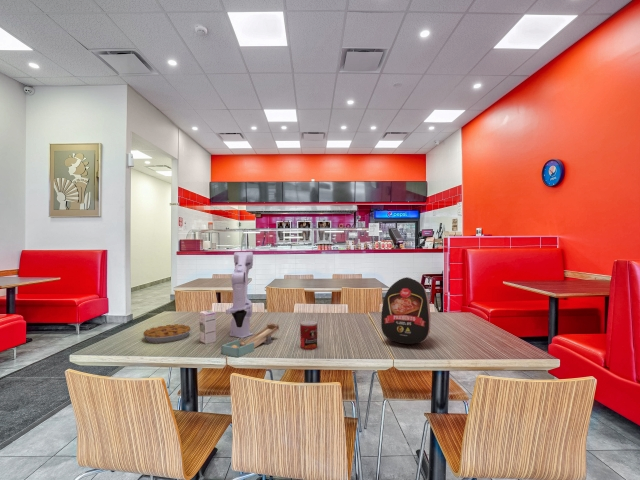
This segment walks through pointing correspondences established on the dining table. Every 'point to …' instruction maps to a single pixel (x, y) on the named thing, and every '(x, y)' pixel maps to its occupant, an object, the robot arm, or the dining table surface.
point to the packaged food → (406, 312)
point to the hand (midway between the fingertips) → (239, 326)
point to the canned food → (308, 334)
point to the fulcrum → (267, 340)
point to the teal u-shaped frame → (236, 349)
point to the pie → (167, 333)
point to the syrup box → (207, 326)
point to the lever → (261, 335)
